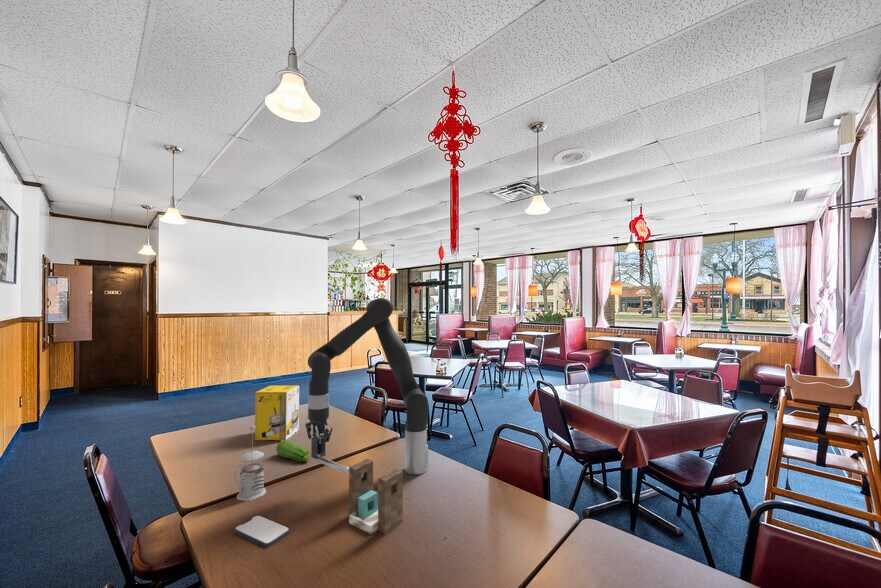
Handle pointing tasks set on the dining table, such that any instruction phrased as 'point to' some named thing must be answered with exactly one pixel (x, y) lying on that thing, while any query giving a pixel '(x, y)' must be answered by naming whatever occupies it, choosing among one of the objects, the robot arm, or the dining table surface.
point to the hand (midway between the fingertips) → (318, 451)
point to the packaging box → (276, 412)
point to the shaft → (324, 461)
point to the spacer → (367, 504)
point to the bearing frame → (387, 498)
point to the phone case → (261, 531)
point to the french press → (251, 476)
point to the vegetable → (292, 451)
